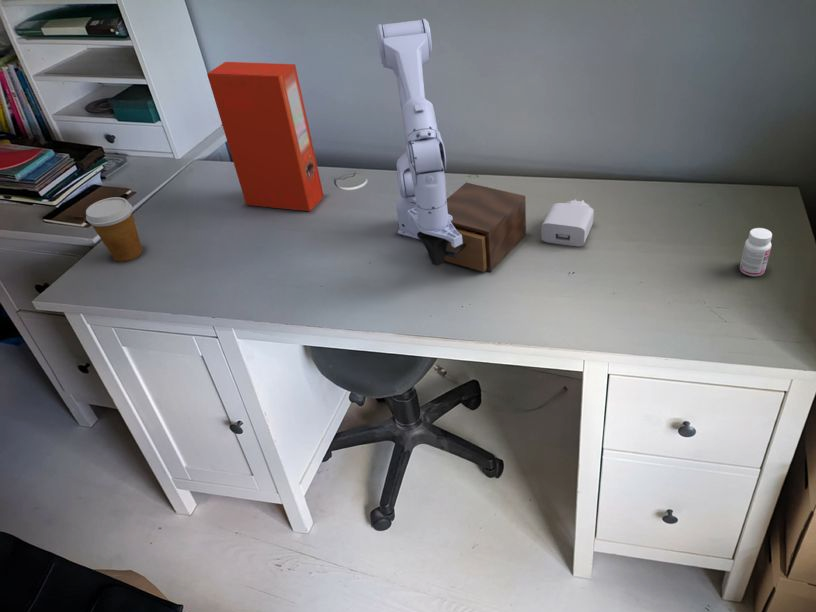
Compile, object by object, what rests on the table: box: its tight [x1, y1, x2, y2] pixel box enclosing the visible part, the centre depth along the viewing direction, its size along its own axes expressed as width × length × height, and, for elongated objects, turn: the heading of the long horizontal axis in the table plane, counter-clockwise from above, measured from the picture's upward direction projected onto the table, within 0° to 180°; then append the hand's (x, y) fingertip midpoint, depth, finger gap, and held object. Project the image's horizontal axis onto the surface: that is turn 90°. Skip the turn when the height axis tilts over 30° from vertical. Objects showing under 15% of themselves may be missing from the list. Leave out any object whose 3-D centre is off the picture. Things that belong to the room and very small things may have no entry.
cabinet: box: [446, 182, 527, 273], centre depth 149 cm, size 16×15×10 cm
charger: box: [541, 198, 595, 247], centre depth 154 cm, size 5×9×15 cm
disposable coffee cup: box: [85, 196, 143, 263], centre depth 155 cm, size 10×10×12 cm
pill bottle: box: [739, 227, 773, 277], centre depth 136 cm, size 5×5×8 cm
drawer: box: [444, 226, 487, 273], centre depth 146 cm, size 19×13×8 cm
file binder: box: [206, 61, 324, 212], centre depth 163 cm, size 8×17×32 cm, turn 73°
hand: (438, 263), depth 139 cm, fingers closed
